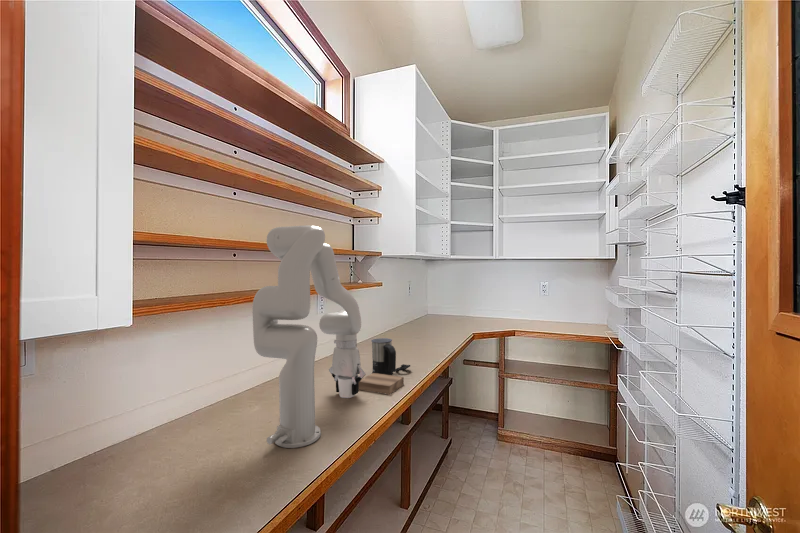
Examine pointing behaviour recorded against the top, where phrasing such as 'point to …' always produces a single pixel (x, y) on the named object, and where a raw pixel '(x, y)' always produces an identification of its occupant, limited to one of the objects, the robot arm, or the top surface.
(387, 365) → the milk frother
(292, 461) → the top surface
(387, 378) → the walnut riser
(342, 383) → the white cup
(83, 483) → the top surface
